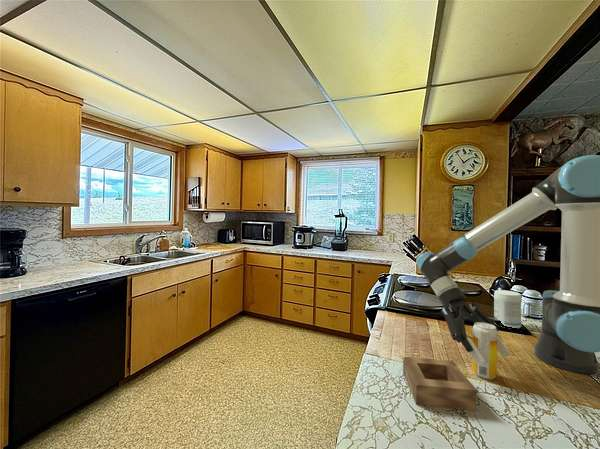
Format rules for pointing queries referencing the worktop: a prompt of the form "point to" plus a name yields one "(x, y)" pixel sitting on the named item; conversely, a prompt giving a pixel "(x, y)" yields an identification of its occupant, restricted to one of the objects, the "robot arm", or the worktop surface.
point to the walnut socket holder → (439, 383)
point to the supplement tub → (508, 308)
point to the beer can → (485, 350)
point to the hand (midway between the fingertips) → (494, 359)
